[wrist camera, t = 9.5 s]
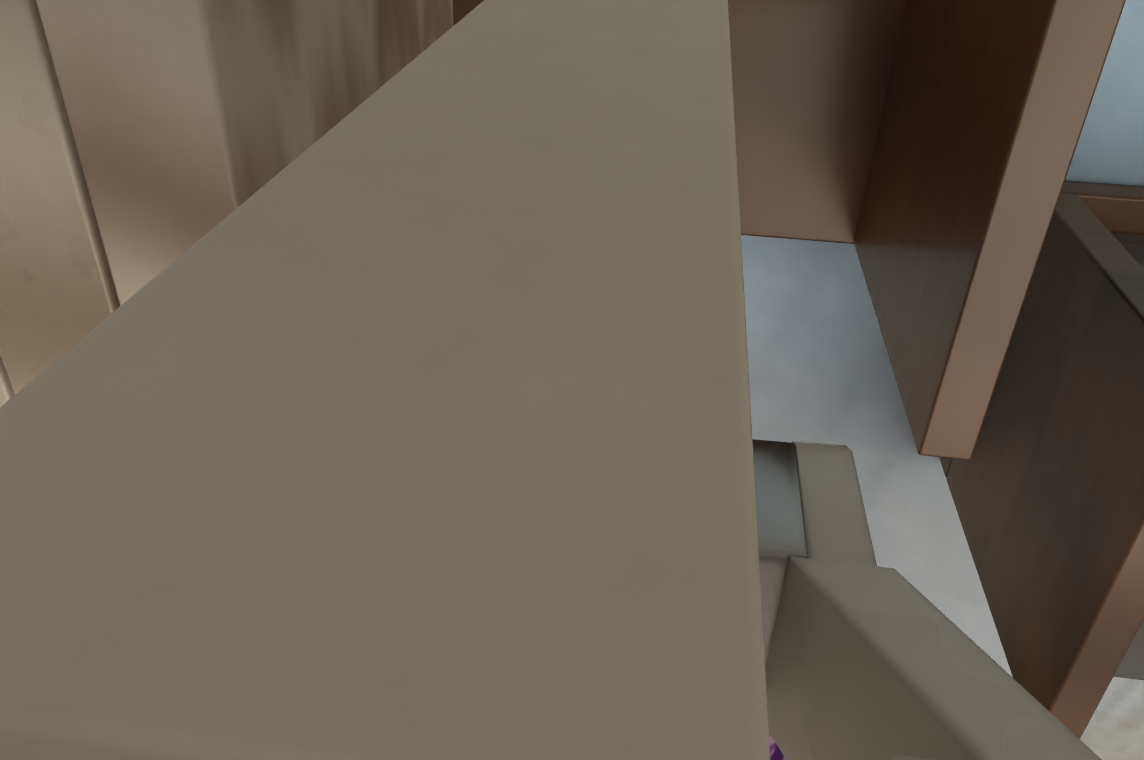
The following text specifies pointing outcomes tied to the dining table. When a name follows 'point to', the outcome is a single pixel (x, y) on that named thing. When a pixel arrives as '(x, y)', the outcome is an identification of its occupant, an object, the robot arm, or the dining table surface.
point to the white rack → (436, 3)
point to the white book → (419, 435)
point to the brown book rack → (1067, 462)
